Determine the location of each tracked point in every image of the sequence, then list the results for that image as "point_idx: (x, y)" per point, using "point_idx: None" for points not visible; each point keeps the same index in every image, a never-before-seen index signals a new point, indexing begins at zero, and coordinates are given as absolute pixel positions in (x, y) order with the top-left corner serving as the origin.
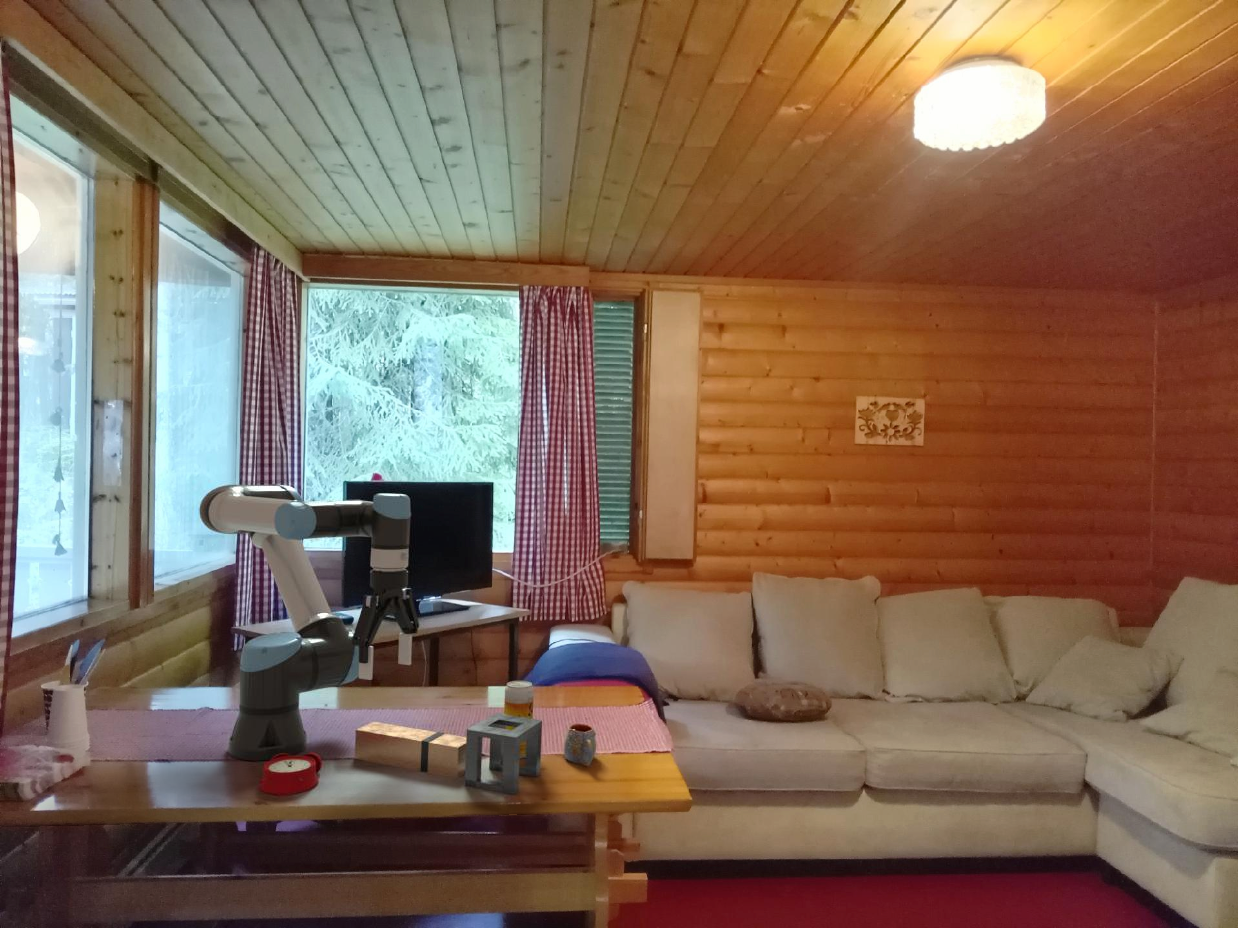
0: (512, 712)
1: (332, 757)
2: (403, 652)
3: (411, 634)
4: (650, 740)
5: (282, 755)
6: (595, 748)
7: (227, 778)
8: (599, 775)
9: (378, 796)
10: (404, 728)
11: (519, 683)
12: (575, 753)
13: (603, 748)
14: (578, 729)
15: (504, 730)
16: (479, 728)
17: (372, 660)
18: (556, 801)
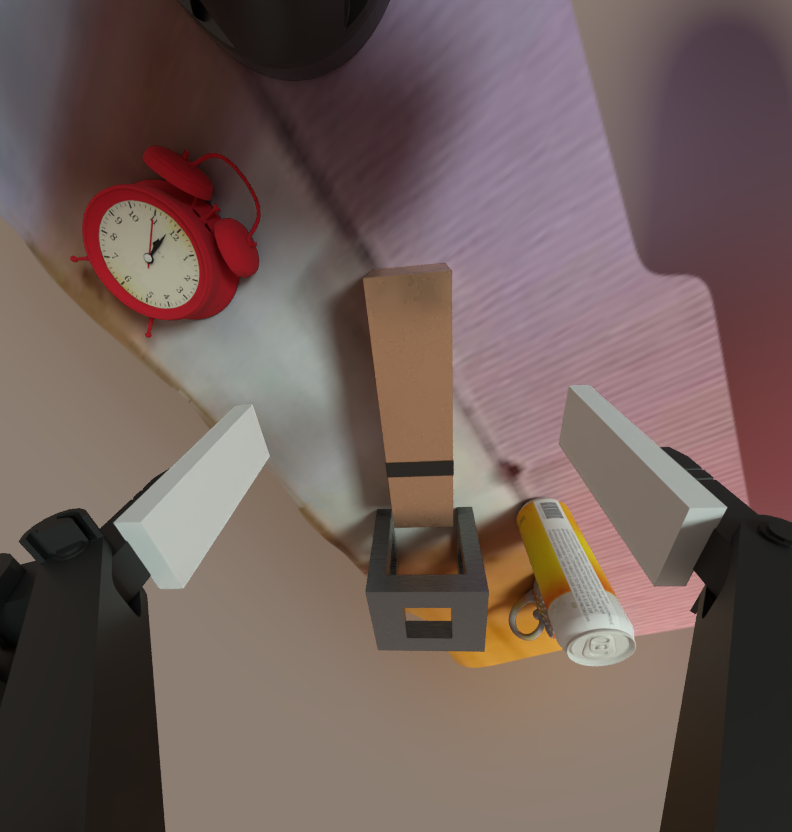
0: (540, 589)
1: (347, 210)
2: (591, 450)
3: (673, 584)
4: (669, 622)
5: (175, 161)
6: None
7: (68, 61)
8: (499, 610)
9: (264, 435)
10: (440, 385)
11: (613, 643)
12: (534, 597)
13: None
14: None
15: (399, 630)
16: (383, 604)
17: (226, 516)
18: None
